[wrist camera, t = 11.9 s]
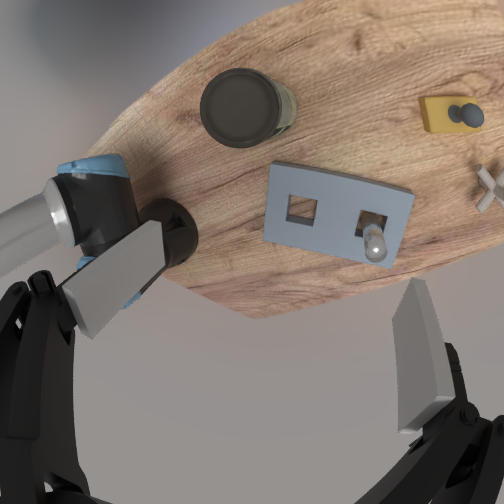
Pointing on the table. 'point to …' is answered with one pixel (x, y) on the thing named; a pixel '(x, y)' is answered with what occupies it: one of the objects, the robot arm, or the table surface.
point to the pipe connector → (490, 188)
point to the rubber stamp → (451, 114)
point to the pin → (373, 238)
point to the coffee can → (246, 108)
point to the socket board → (333, 211)
